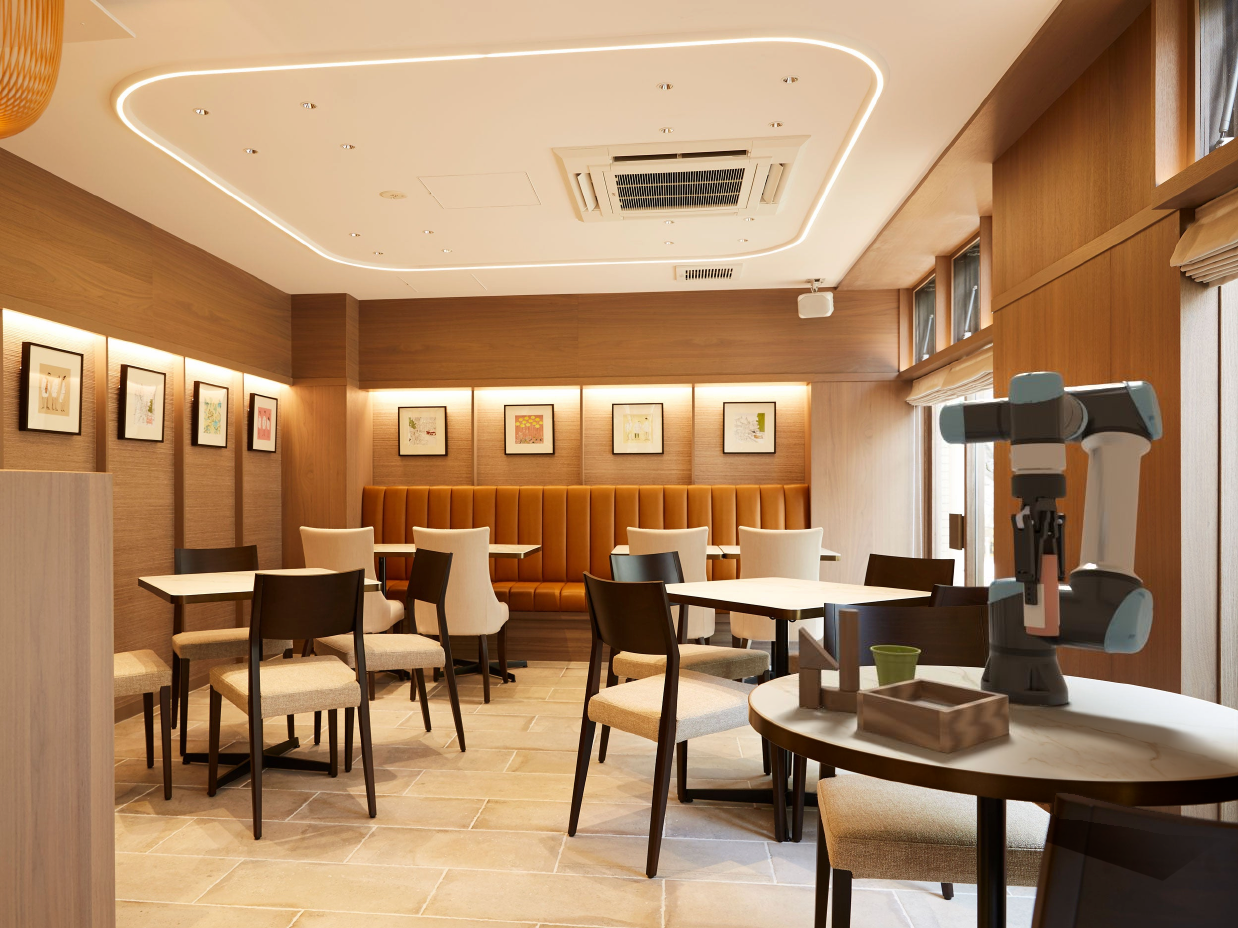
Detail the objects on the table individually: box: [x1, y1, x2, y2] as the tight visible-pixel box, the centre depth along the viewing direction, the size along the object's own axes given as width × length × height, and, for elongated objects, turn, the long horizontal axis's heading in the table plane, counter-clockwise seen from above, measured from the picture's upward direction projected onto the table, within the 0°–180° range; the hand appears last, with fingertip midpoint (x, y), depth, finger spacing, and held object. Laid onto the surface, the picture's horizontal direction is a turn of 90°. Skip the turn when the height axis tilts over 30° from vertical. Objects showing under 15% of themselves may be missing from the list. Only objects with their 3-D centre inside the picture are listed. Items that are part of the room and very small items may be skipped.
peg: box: [1026, 554, 1059, 636], centre depth 120 cm, size 4×4×12 cm
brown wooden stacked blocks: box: [797, 608, 863, 714], centre depth 143 cm, size 4×11×18 cm, turn 66°
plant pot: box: [869, 645, 922, 687], centre depth 154 cm, size 9×9×9 cm
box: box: [856, 677, 1010, 754], centre depth 128 cm, size 18×16×6 cm
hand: (1042, 624), depth 120 cm, fingers closed on peg, 4 cm apart
